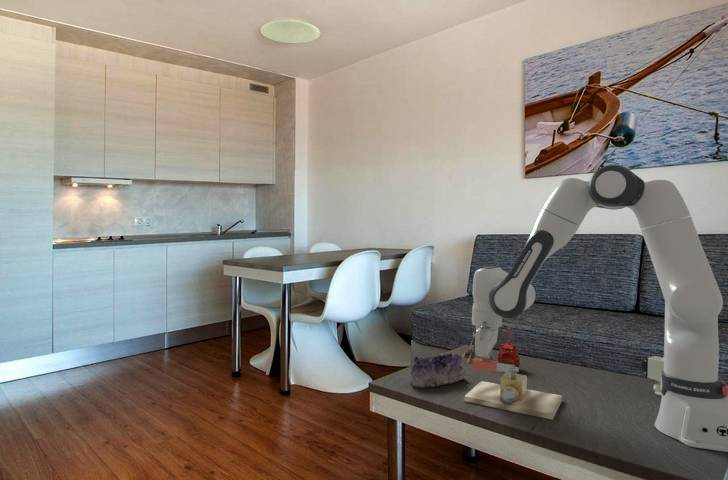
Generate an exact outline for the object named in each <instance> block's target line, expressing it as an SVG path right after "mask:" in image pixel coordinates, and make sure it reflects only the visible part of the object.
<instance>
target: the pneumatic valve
mask: <svg viewBox="0 0 728 480" xmlns="http://www.w3.org/2000/svg"><path fill="white" fill-rule="evenodd" d="M640 365H641V366H640V368H641V372H643V373H644V375H645V376H644V377H645V378H647V379H650V380H655V381H657V383H654V384H653V391H654V394H655V395H656V396H659V397H662V393H661V374H662V371H663V370H664V355H663V357H661V356H657V355H651V356H645V358H644V359H642V362H641V364H640Z"/></svg>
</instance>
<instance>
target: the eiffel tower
mask: <svg viewBox="0 0 728 480" xmlns="http://www.w3.org/2000/svg"><path fill="white" fill-rule="evenodd" d="M476 331H477V330H476V326H475V325H474V331H473V332H472V336H473V338H472V340H471V342H470V343H469V346H468V347H467V349H466V350H465V351H464V352H463V354H461V355H460V356H461V357H462V359H463V358H466V359H467V360H465V362H466V363H467V364H472V360H473V359H474V358H476V357H475V356H476V355H475V338H476ZM490 360H493V361H494V358H493V357H492V355H490Z"/></svg>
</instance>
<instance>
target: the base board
mask: <svg viewBox="0 0 728 480" xmlns="http://www.w3.org/2000/svg"><path fill="white" fill-rule="evenodd" d="M463 399H464V400H463V401H464V402H466V403H471V404H476V405H481V406H485V407H488V408H489V407H490V408H495V409H500V410H505V411H509V412H514V413H519V414H524V415H529V416H534V417H538V418H543V419H549V420H552V421H553V420H554V418H555V416H556V414H557V411H558V410H559V408H560V406H561V404H562V401H563V395H560V394H554V393H551V392H545V391H544V392H543V391H540V390H539V391H538V390H533V389H527V395H526V396H525V397H524V399H523V400H522V401H517V400H516V402H512V403H511V404H510V405H506V404H504V403H503V402H502V401H501V399H500V384H499V383H494V382H488V381H483V380H480V381H479V382H478V383H477V384H476V385H475V386H474V387H473V388H471V390H470V391H469V392H468V393H466V394H465V395H464V398H463Z"/></svg>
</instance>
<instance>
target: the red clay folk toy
mask: <svg viewBox="0 0 728 480" xmlns="http://www.w3.org/2000/svg"><path fill="white" fill-rule="evenodd" d="M510 330H511V328H510V326H509V325H508V326H507V330H506V329H502V333H506V332H507V338H508V339H507V343H506V344H505V343H502V344H501V345H500V348H499V350H498V354H497V361H498V363H503V364H509V365H515V367H518V368H519V369H520V367H521V361H520V359H521V358H520V354H519V352H518V350H517V346H516V345H515V344H511V341H510V338H511V335H510Z"/></svg>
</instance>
